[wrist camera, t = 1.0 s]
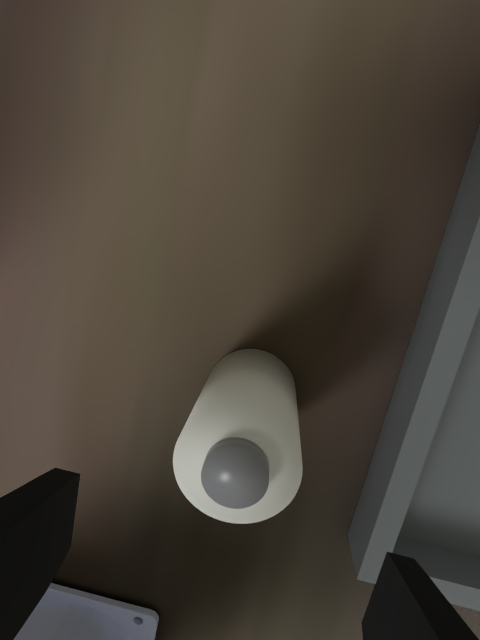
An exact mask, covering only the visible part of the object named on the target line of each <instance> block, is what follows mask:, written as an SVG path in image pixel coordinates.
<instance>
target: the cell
mask: <svg viewBox="0 0 480 640" xmlns="http://www.w3.org/2000/svg"><path fill="white" fill-rule="evenodd" d="M173 469H174V474H175V478H176V481H177V483H178V485H179V487H180V489H181V491H182V492H183V494H184V495H185V497H186V498H187V499H188V500H189V501H190V502H191V503H192V504H193V505H194V506H195V507H196V508H197V509H199V510H200V511H201V512H203V513H205V514H206V515H208V516H210V517H212V518H215V519H217V520H220V521H224V522H228V523H236V524H249V523H256V522H260V521H263V520H266V519H268V518H271V517H273V516H274V515H276V514H278V513H279V512H281V511H282V510H283V509H285V508H286V507H287V506H288V505H289V503H290V502H291V501H292V500H293V498H294V497H295V495H296V493H297V491H298V489H299V486H300V484H301V479H302V471H303V466H302V454H301V443H300V432H299V421H298V410H297V398H296V387H295V382H294V379H293V376H292V374H291V372H290V370H289V369H288V367H287V366H286V365H285V364H284V363H283V362H282V361H281V360H280V359H279V358H277V357H276V356H274V355H273V354H271V353H268V352H266V351H262V350H258V349H242V350H237V351H235V352H232V353H230V354H228V355H226V356H225V357H223V358H222V359H221V360H220V361H219V362H218V363H217V364H216V365H215V366H214V368H213V370H212V371H211V373H210V375H209V377H208V379H207V381H206V383H205V385H204V387H203V389H202V391H201V393H200V395H199V397H198V399H197V401H196V403H195V406H194V408H193V410H192V412H191V414H190V416H189V418H188V420H187V422H186V424H185V426H184V428H183V430H182V432H181V434H180V436H179V438H178V440H177V443H176V445H175V449H174V454H173Z"/></svg>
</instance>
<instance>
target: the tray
mask: <svg viewBox="0 0 480 640" xmlns="http://www.w3.org/2000/svg"><path fill="white" fill-rule="evenodd" d="M347 537H348V541H349V546H350V551H351V555H352V560H353V565H354V569H355V574H356V579H357V580H361V581H365V582H369V583H372V584H376V581H377V578H378V575H379V573H380V570H381V567H382V564H383V561H384V558H385V556H386V553H387V552H390V553H394V554H398V555H402V556H406V557H410V558H414V559H415V560H416V561H417V562H418V564H419V565H420V566H421V567H422V568H423V570H424V571H425V572H426V573H427V575H428V576H429V577H430V578H431V580H432V581H433V582H434V584H435V585H436V586H437V587H438V589H439V590H440V591H441V592H442V594H443V595H444V596H445V598H446V599H447V600H448V601H449V603H450V604H454V605H458V606H462V607H466V608H470V609H474V610H478V611H480V124H479V127H478V131H477V134H476V137H475V140H474V143H473V146H472V149H471V152H470V155H469V159H468V162H467V165H466V168H465V171H464V174H463V177H462V180H461V183H460V187H459V190H458V193H457V196H456V199H455V202H454V205H453V208H452V211H451V215H450V218H449V221H448V224H447V227H446V230H445V233H444V236H443V239H442V243H441V246H440V249H439V252H438V255H437V258H436V261H435V264H434V267H433V270H432V274H431V277H430V280H429V283H428V286H427V289H426V292H425V295H424V298H423V302H422V305H421V308H420V311H419V314H418V317H417V320H416V323H415V326H414V330H413V333H412V336H411V339H410V342H409V345H408V348H407V351H406V354H405V358H404V361H403V364H402V367H401V370H400V373H399V376H398V379H397V382H396V386H395V389H394V392H393V395H392V398H391V401H390V404H389V407H388V410H387V413H386V417H385V420H384V423H383V426H382V429H381V432H380V435H379V438H378V441H377V445H376V448H375V451H374V454H373V457H372V460H371V463H370V466H369V469H368V473H367V476H366V479H365V482H364V485H363V488H362V491H361V494H360V497H359V501H358V504H357V507H356V510H355V513H354V516H353V519H352V522H351V525H350V529H349V532H348V535H347Z"/></svg>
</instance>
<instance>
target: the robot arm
mask: <svg viewBox="0 0 480 640" xmlns="http://www.w3.org/2000/svg"><path fill="white" fill-rule="evenodd" d="M79 479H80V474H78V473H74V472H70V471H66V470H62V469H58V468H54V469H52V470H50V471H48V472H46V473H45V474H43V475H41V476H39V477H37V478H35V479H34V480H32V481H30V482H28V483H26V484H25V485H23V486H21V487H19V488H18V489H16V490H14V491H12V492H10V493H8V494H7V495H5V496H3V497H1V498H0V640H155V636H156V631H157V626H158V621H159V616H158V614H157V613H156V612H155V611H153V610H151V609H147V608H143V607H140V606H136V605H132V604H129V603H125V602H121V601H117V600H114V599H110V598H106V597H102V596H99V595H95V594H91V593H87V592H84V591H80V590H76V589H72V588H69V587H65V586H61V585H57V584H54V583H51V582H52V580H53V578H54V577H55V575H56V573H57V571H58V569H59V567H60V566H61V564H62V562H63V560H64V558H65V556H66V554H67V552H68V551H69V549H70V547H71V540H72V532H73V525H74V517H75V509H76V502H77V494H78V487H79ZM139 617H140V618H139ZM362 632H363V640H479V639H478V638H477V637H476V636H475V634H474V633H473V632H472V631H471V629H470V628H469V627H468V626H467V624H466V623H465V622H464V621H463V619H462V618H461V617H460V615H459V614H458V613H457V612H456V610H455V609H454V608H453V607H452V605H451V604H450V603H449V601H448V600H447V599H446V598H445V596H444V595H443V594H442V592H441V591H440V590H439V589H438V587H437V586H436V585H435V584H434V582H433V581H432V580H431V578H430V577H429V576H428V575H427V573H426V572H425V571H424V570H423V568H422V567H421V566H420V565H419V564H418V562H417V561H416V560H415V559H414V558H410V557H406V556H402V555H398V554H394V553H390V552H387V553H386V556H385V558H384V561H383V564H382V567H381V570H380V573H379V575H378V578H377V581H376V584H375V587H374V590H373V592H372V595H371V598H370V601H369V604H368V607H367V609H366V612H365V615H364V618H363V621H362Z"/></svg>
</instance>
